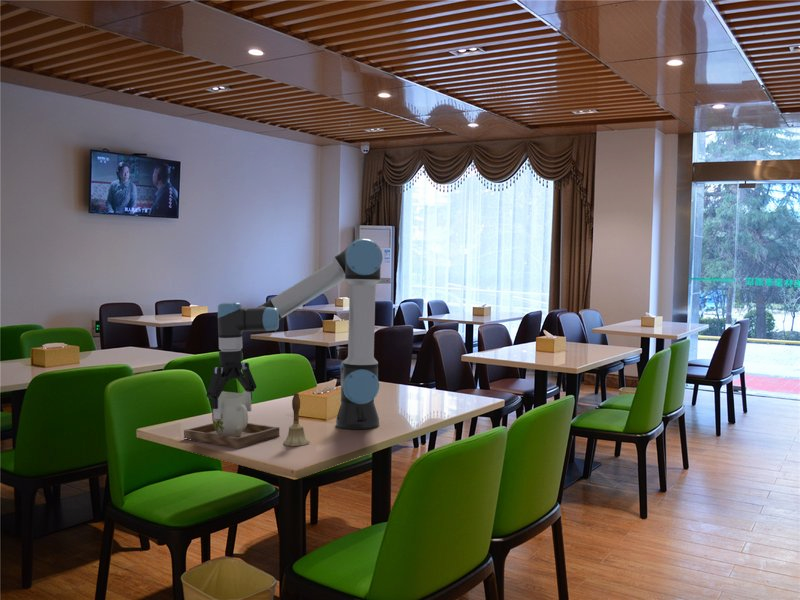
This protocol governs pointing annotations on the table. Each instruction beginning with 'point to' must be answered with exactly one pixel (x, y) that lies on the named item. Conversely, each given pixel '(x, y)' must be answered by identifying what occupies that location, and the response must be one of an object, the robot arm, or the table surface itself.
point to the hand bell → (296, 427)
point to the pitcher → (231, 415)
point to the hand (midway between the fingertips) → (233, 414)
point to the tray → (247, 437)
